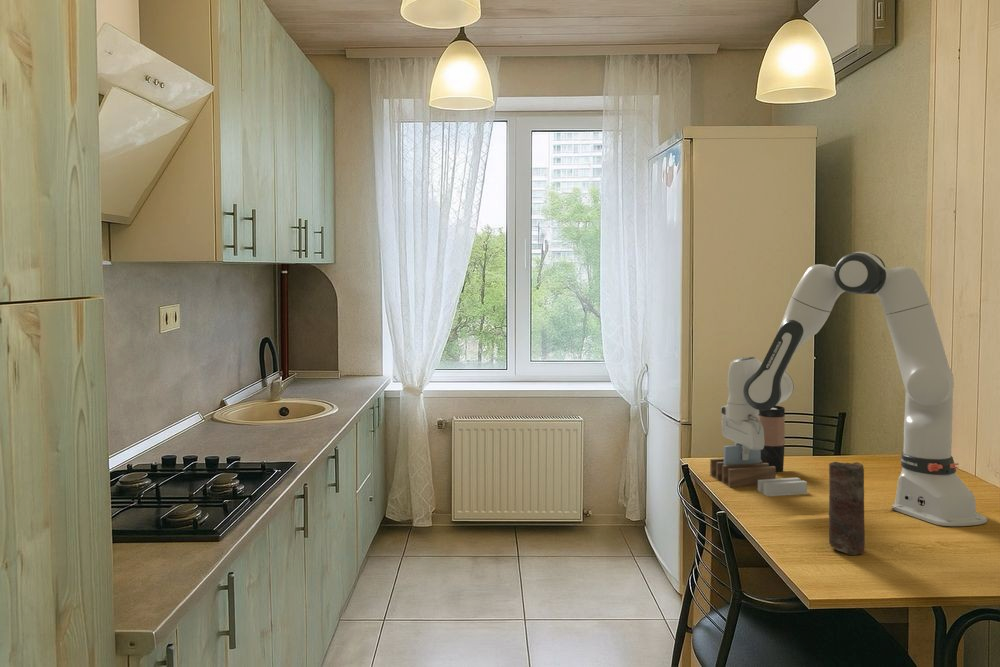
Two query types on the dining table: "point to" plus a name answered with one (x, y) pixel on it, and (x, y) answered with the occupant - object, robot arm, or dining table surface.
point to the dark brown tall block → (846, 507)
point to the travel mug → (773, 436)
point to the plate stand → (782, 486)
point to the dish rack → (741, 473)
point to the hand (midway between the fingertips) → (742, 458)
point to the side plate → (734, 455)
